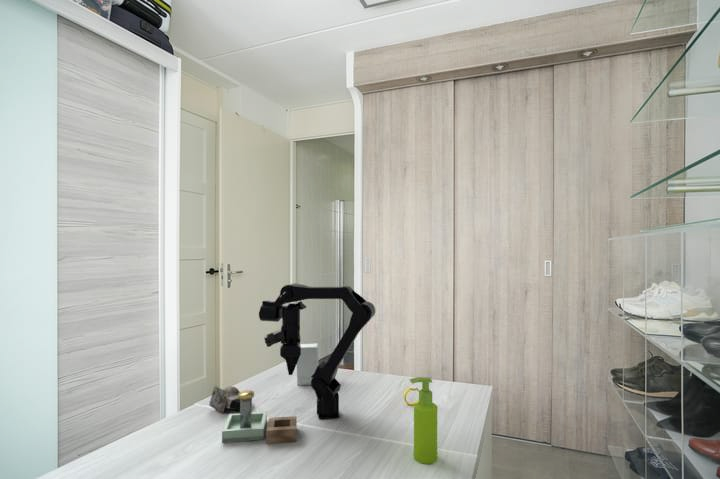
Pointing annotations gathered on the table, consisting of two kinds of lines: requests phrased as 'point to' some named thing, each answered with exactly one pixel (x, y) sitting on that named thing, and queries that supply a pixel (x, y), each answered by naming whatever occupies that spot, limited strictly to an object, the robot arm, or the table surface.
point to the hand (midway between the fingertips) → (290, 370)
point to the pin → (246, 408)
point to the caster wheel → (225, 398)
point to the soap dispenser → (425, 424)
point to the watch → (412, 388)
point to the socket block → (281, 430)
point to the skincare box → (307, 363)
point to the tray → (236, 433)
